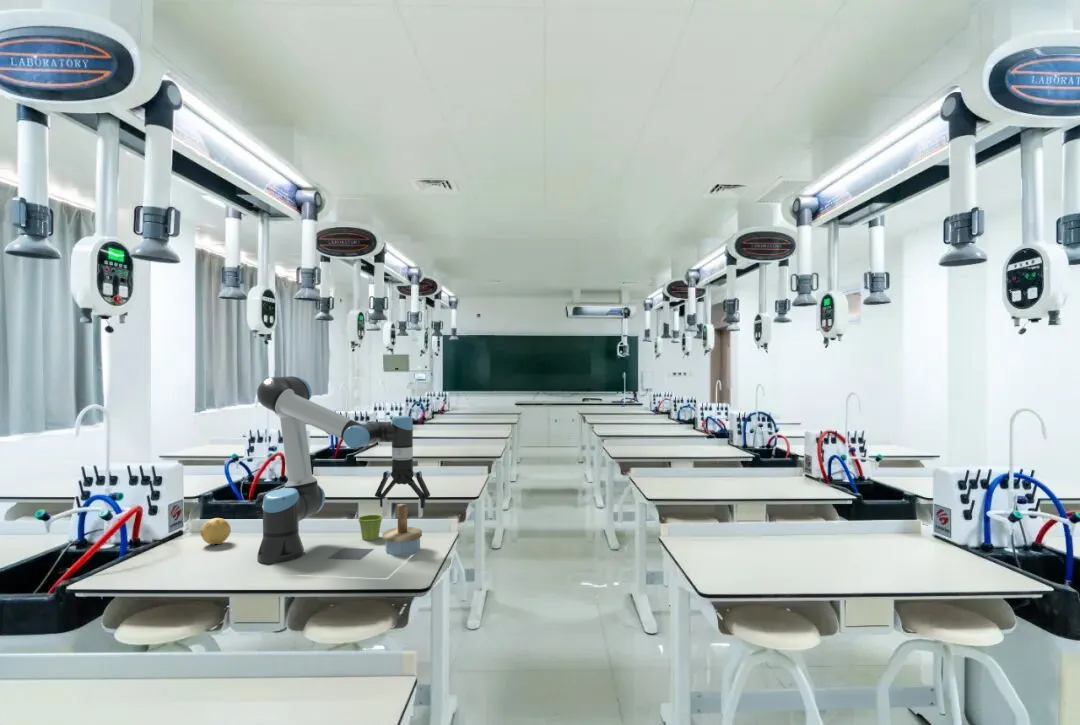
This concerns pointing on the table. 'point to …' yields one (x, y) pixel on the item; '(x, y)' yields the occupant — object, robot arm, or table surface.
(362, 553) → the mat
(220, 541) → the potato
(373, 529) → the plant pot
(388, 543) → the bowl
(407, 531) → the lid
